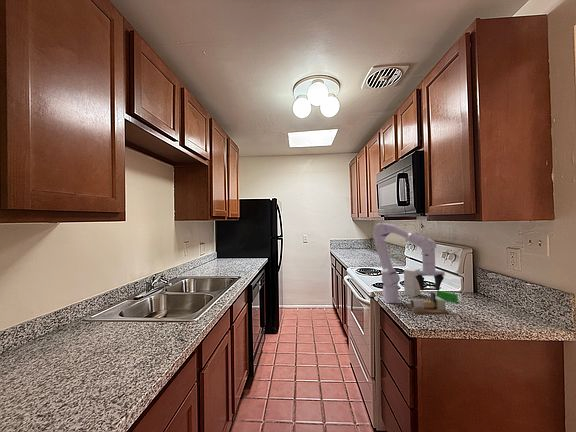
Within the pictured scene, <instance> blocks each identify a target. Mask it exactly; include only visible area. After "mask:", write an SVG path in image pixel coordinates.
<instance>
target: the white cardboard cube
mask: <svg viewBox="0 0 576 432" xmlns="http://www.w3.org/2000/svg"><path fill="white" fill-rule="evenodd" d="M424 301H425V300H424V299H422V298H410V304H411V307H412V308H413V309H424Z"/></svg>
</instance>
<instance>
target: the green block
mask: <svg viewBox="0 0 576 432" xmlns="http://www.w3.org/2000/svg"><path fill="white" fill-rule="evenodd" d="M436 297H440V298H442V299H443V300H445V302H450V303H453V304H458V303H459V302H458V300H459V299H458V294H456V293H455V292H448V291H447V290H444V291H442V290H436Z"/></svg>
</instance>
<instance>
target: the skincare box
mask: <svg viewBox="0 0 576 432" xmlns="http://www.w3.org/2000/svg"><path fill="white" fill-rule="evenodd" d="M417 271H421V269H420V268H418V267H417V268H416V267H408V268H404V270H403V285H404V286H403V287H404V292H403V293H404V296H407V297H408V296H409V297H412V298H413V297H414V298H415V297H417V296H419V295H421V290H420V286H419V283H418V281H417V279H416V277H415V276H414V272H417Z"/></svg>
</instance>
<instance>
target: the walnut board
mask: <svg viewBox="0 0 576 432" xmlns="http://www.w3.org/2000/svg"><path fill="white" fill-rule="evenodd" d="M406 308H408V309H410V310H411V311H412V312H413V313H415V314H416V315H431V314H432V315H444V314H445V315H446V314H447V315H448V314H449V311H448V310H437V307H424V309H413V308H412V307H411V303H408V304H406Z"/></svg>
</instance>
